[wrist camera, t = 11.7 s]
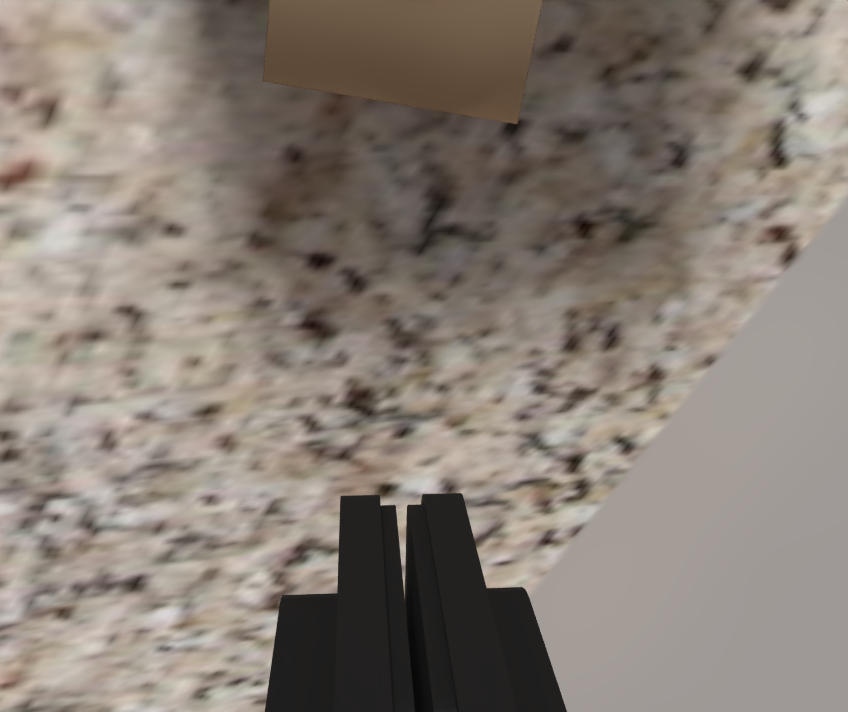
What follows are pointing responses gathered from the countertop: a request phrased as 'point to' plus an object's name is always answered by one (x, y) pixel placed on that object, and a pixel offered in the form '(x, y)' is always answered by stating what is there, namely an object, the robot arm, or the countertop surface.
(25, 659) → the countertop surface
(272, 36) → the tan toy brick
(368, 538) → the robot arm
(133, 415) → the countertop surface
